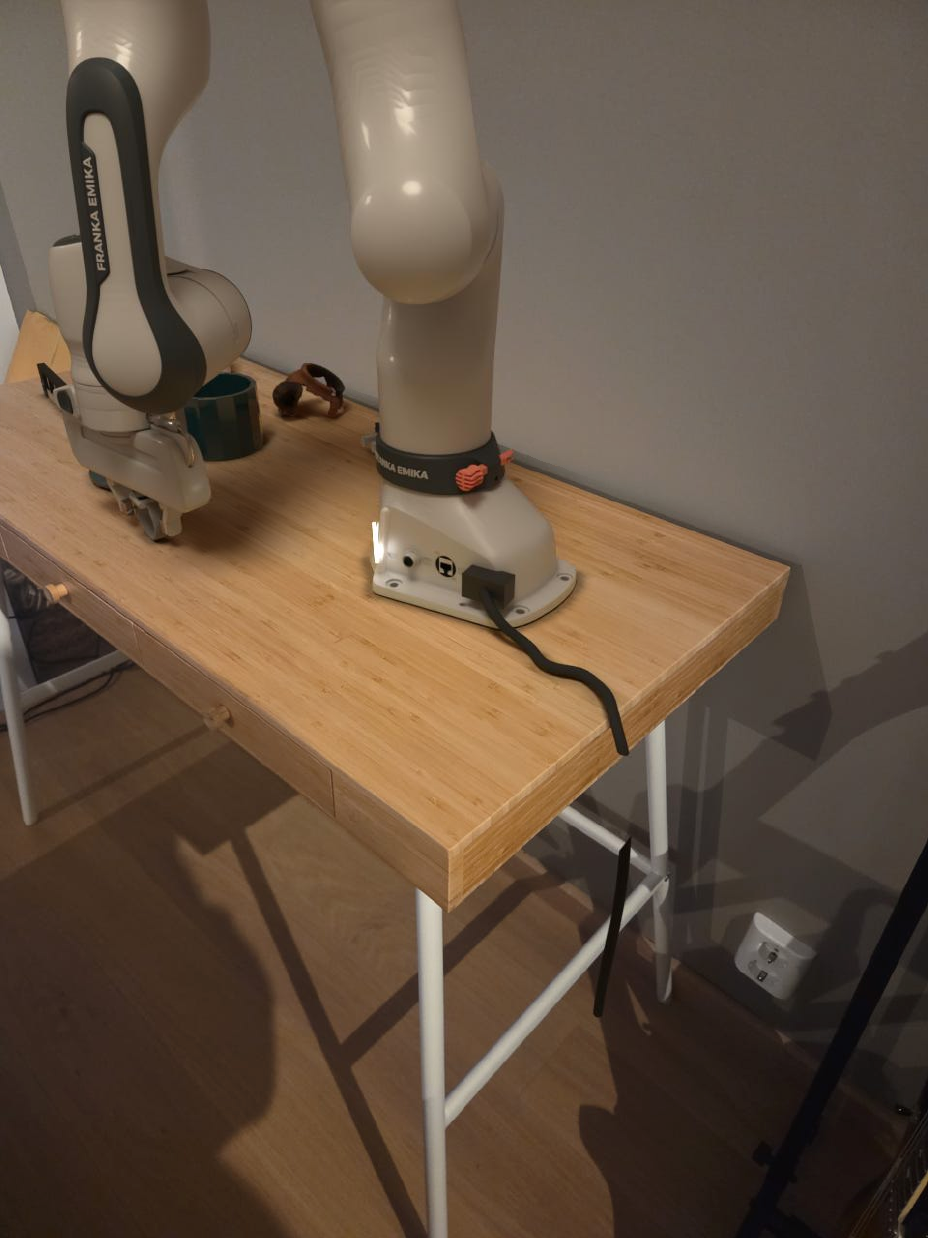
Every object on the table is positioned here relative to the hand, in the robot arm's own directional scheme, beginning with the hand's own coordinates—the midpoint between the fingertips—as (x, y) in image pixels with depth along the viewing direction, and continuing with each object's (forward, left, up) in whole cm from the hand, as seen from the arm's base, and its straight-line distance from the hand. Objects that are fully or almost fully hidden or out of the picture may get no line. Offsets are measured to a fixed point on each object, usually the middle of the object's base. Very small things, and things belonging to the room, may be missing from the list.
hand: (150, 522), depth 92 cm
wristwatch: (0, 0, -2) cm, 2 cm away
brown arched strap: (+16, -38, -2) cm, 41 cm away
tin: (+16, -22, -2) cm, 27 cm away
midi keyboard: (+46, -16, -2) cm, 49 cm away
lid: (+16, -9, -1) cm, 18 cm away
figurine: (-6, -38, -2) cm, 39 cm away
